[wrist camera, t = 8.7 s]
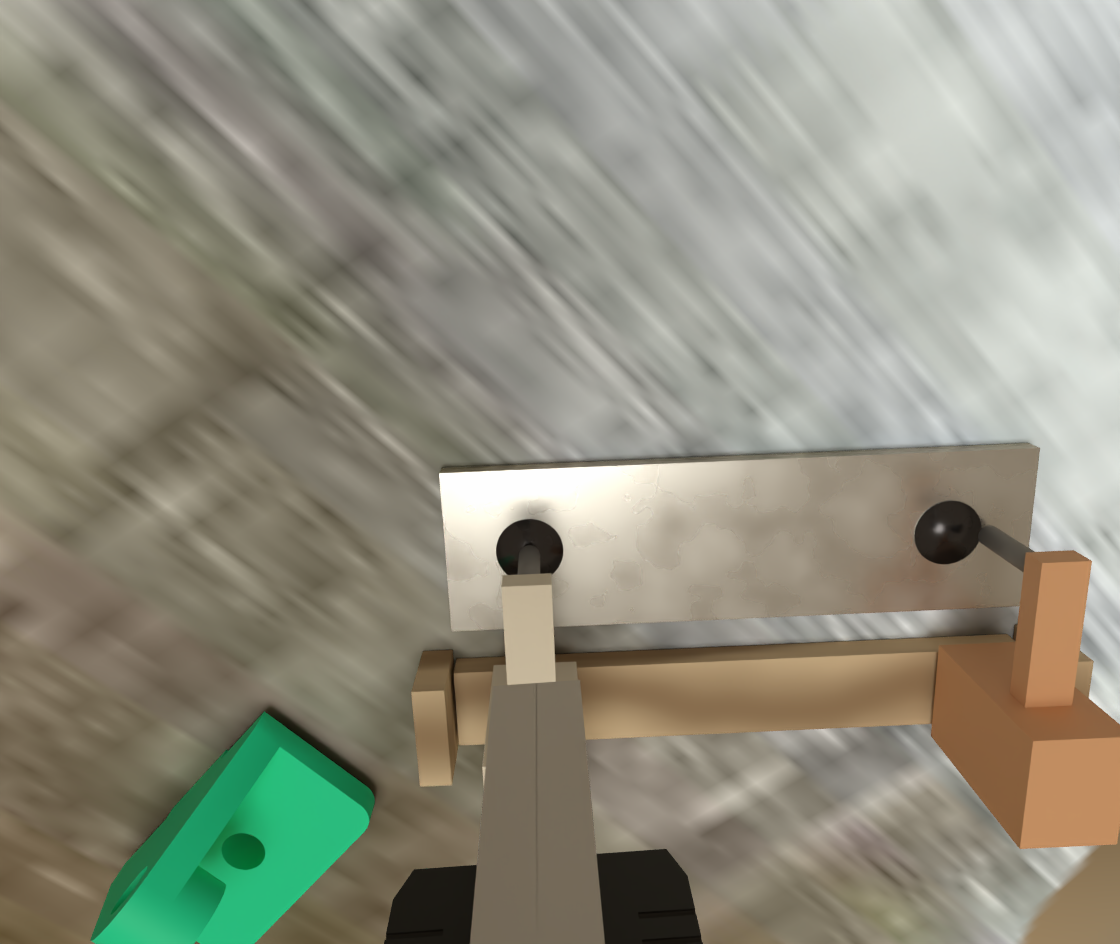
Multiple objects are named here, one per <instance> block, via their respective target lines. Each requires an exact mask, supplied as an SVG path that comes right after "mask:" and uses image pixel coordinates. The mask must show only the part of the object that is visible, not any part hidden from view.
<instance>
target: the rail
mask: <svg viewBox="0 0 1120 944" xmlns="http://www.w3.org/2000/svg"><path fill="white" fill-rule="evenodd" d="M1016 634H1017V625H1015V627H1014V636H1013V639H1012V638H1011V637H1010V636H1009V635H1007V634H998V635H976V636H953V637H931V638H909V639H886V640H864V641H841V642H819V643H797V644H774V645H752V646H730V647H707V648H685V649H663V650H640V651H618V652H596V653H573V654H555V662H576V665H577V677H578V680H580V686H581V696H582V707H583V717H584V728H585V738H586V739H608V738H630V737H652V736H674V735H695V734H717V733H739V732H761V731H783V730H804V729H826V728H848V727H870V726H891V725H913V724H932V719H933V708H934V696H935V685H936V674H937V662H938V651H939V645H956V644H978V643H1000V642H1016ZM1093 662H1094V661H1093V660H1091V659H1090V658H1089V657H1087V656H1086V655H1085V654H1083V653H1082V652H1081V651H1079V659H1078V666H1077V673H1076V681H1075V688H1077V689H1078V690H1079V691H1080V692H1081V693H1083V694H1084V695H1085V696H1086V697H1087V698H1088V697H1089V690H1090V683H1091V676H1092V669H1093ZM494 665H506V657H484V658H462V659H456V664H455V669H454V659H453V650H439V651H423V653H422V656H421V660H420V663H419V667H418V670H417V674H416V677H415V681H414V684H413V688H412V691H411V694H412V705H413V715H414V726H415V736H416V747H417V758H418V768H419V779H420V786H442V785H452V781H453V775H454V769H455V763H456V757H457V751H458V744H459V745H478V744H485V738H486V729H487V720H488V711H489V702H490V693H491V684H492V675H493V666H494Z"/></svg>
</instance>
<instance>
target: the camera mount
mask: <svg viewBox="0 0 1120 944" xmlns="http://www.w3.org/2000/svg"><path fill="white" fill-rule="evenodd" d="M374 804H375V798H374V795H373V793H372V791H371V790H370V789H369V788H368V787H367V786H365V785H364V784H363V783H361V782H360V781H359V780H357V779H356V778H355V777H353V776H352V775H350V774H349V773H348V772H346V771H345V770H344V769H342V768H341V767H340V766H338V765H337V764H335V763H334V762H333V761H331V760H330V759H329V758H327V757H326V756H325V755H323V754H322V753H320V752H319V751H318V750H316V749H315V748H314V747H312V746H311V745H310V744H308V743H307V742H305V741H304V740H303V739H301V738H300V737H299V736H297V735H296V734H294V733H293V732H292V731H290V730H289V729H288V728H286V727H285V726H284V725H282V724H281V723H279V722H278V721H277V720H275V719H274V718H273V717H271V716H270V715H269V714H267V713H266V712H263V714H262V715H261V716H260V717H259V718H258V719H257V720H256V721H255V722H254V723H253V724H252V726H251V727H250V728H249V729H248V730H247V731H246V732H245V733H244V734H243V735H242V737H241V738H240V739H239V740H238V741H237V742H236V743H235V744H234V745H233V746H232V747H231V749H230V750H229V751H228V750H226V751H225V752H224V753H223V754H222V755H221V756H220V757H219V758H218V759H217V760H216V762H215V763H214V764H213V765H212V766H211V767H210V768H209V769H208V770H207V771H206V773H205V774H204V775H203V776H202V777H201V778H200V779H199V780H198V781H197V782H196V783H195V785H194V786H193V787H192V788H191V789H190V790H189V791H188V792H187V793H186V794H185V796H184V797H183V798H182V799H181V800H180V801H179V802H178V803H177V804H176V805H175V806H174V808H173V809H172V810H171V812H170V814H169V815H168V817H167V818H166V820H165V821H164V822H163V823H162V824H161V825H160V826H159V827H158V828H157V829H156V831H155V832H154V833H153V834H152V835H151V836H150V837H149V838H148V839H147V840H146V841H145V843H144V844H143V845H142V846H141V847H140V848H139V849H138V850H137V851H136V852H135V853H134V855H133V856H132V857H131V858H130V859H129V860H128V861H127V862H126V863H125V865H124V866H123V868H122V869H121V871H120V872H119V874H118V875H117V877H116V878H115V880H114V881H113V883H112V884H111V886H110V889H109V892H108V894H107V897H106V900H105V902H104V905H103V908H102V910H101V913H100V916H99V918H98V921H97V924H96V926H95V929H94V932H93V934H92V937H91V941H92V942H94V943H95V944H194V943H195V941H197V942H199V943H200V944H254V943H255V942H256V941H257V940H258V939H259V938H260V937H261V936H262V935H263V934H264V933H265V932H266V931H267V930H268V929H269V928H270V927H271V926H272V925H273V924H274V923H275V922H276V921H277V920H278V919H279V918H280V917H281V916H282V915H283V914H284V913H285V912H286V911H287V910H288V909H289V908H290V907H291V906H292V905H293V904H294V903H295V902H296V901H297V900H298V899H299V898H300V897H301V896H302V895H303V894H304V893H305V892H306V891H307V889H308V888H309V887H310V886H311V885H312V884H313V883H314V882H315V881H316V880H317V879H318V878H319V877H320V876H321V875H322V874H323V873H324V872H325V871H326V870H327V869H328V868H329V867H330V866H331V865H332V864H333V863H334V862H335V861H336V860H337V859H338V858H339V857H340V856H341V855H342V854H343V853H344V852H345V851H346V850H347V849H348V848H349V847H350V846H351V845H352V844H353V843H354V842H355V841H356V840H357V839H358V838H359V837H360V836H361V835H362V834H363V833H364V832H365V830H366V829H367V827H368V824H369V821H370V818H371V814H372V811H373V807H374ZM249 834H250V835H249ZM251 835H252V836H251Z"/></svg>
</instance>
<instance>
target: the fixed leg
mask: <svg viewBox="0 0 1120 944" xmlns="http://www.w3.org/2000/svg"><path fill="white" fill-rule="evenodd" d="M501 589H502V606H503V622H504V639H505V656H506V665H494V666H493V675H492V684H491V693H490V702H489V711H488V720H487V729H486V738H485V747H484V756H483V765H482V769H483V783H484V780H485V769H486V758H487V746H488V735H489V724H490V713H491V701H492V690H493V686H500V685H514V684H529V683H543V682H557V681H571V680H578V677H577V665H576V662H555V648H554V625H553V602H552V579H551V573H545V574H540V552H539V550H538V549H537V548H536V547H535V546H532V545H527V546H524V547H523V548H522V549H521V550H520V552H519V561H518V575H503V577H502V586H501Z"/></svg>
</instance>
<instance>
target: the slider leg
mask: <svg viewBox="0 0 1120 944" xmlns="http://www.w3.org/2000/svg"><path fill="white" fill-rule="evenodd" d="M978 540H979V542H980V543H981V544H983V545H984V546H986V547H987V548H989V549H990V550H991V551H993V552H994V553H996V554H997V555H999V556H1000V557H1002V558H1003V559H1004V560H1006V561H1007V562H1009V563H1010V564H1012V565H1013V566H1015V567H1016V568H1018V569H1019V570H1020V571H1022V572H1023V581H1022V590H1021V599H1020V607H1019V616H1018V625H1017V634H1016V642H1000V643H978V644H956V645H939V651H938V662H937V674H936V685H935V696H934V708H933V719H932V730H931V736H932V738H933V739H934V740H935V742H936V743H937V744H938V745H939V747H940V748H941V749H942V750H943V752H944V753H945V754H946V756H947V757H948V758H949V759H950V761H951V762H952V763H953V764H954V766H955V767H956V768H957V770H958V771H959V772H960V773H961V775H962V776H963V777H964V778H965V780H966V781H967V782H968V784H969V785H970V786H971V787H972V789H973V790H974V791H975V792H976V794H977V795H978V796H979V798H980V799H981V800H982V801H983V803H984V804H985V805H986V806H987V808H988V809H989V810H990V812H991V813H992V814H993V815H994V817H995V818H996V819H997V820H998V822H999V823H1000V824H1001V826H1002V827H1003V828H1004V829H1005V831H1006V832H1007V833H1008V834H1009V836H1010V837H1011V838H1012V840H1013V841H1014V842H1015V843H1016V845H1017V846H1018V847H1019V848H1020V849H1027V848H1048V847H1069V846H1090V845H1111V844H1117V840H1118V833H1119V827H1120V724H1118V723H1117V722H1116V721H1115V720H1114V719H1112V718H1111V717H1110V716H1109V715H1108V714H1106V713H1105V712H1104V711H1103V710H1102V709H1101V708H1099V707H1098V706H1097V705H1096V704H1095V703H1093V702H1092V701H1091V700H1090V699H1089V698H1087V697H1086V696H1085V695H1084V694H1083V693H1081V692H1080V691H1079V690H1078V689H1077V688H1075V681H1076V673H1077V666H1078V659H1079V651H1080V644H1081V637H1082V629H1083V622H1084V615H1085V607H1086V600H1087V593H1088V585H1089V578H1090V571H1091V563H1092V561H1091V560H1089V559H1088V558H1086V557H1084V556H1082V555H1081V554H1079V553H1077V552H1076V551H1074V550H1072V551H1049V552H1034V551H1033V550H1031V549H1030V548H1028V547H1026V546H1025V545H1023V544H1022V543H1020V542H1019V541H1017V540H1015V539H1014V538H1012V537H1011V536H1009V535H1007V534H1006V533H1004V532H1003V531H1001V530H1000V529H998V528H996V527H995V526H992V525H988V526H985V527H983V528H982V529H981V530H980V531H979V534H978Z"/></svg>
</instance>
